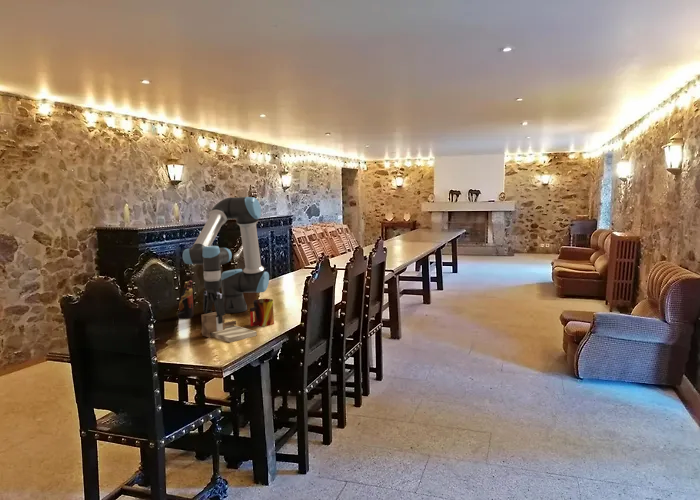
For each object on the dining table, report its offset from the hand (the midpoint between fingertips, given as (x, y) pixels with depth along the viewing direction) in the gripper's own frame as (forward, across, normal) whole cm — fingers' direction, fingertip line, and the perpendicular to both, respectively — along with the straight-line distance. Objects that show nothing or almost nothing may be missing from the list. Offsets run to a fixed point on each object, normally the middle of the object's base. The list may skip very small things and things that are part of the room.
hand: (214, 328), depth 226 cm
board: (+3, +4, +5) cm, 7 cm away
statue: (+3, -46, +9) cm, 47 cm away
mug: (+3, +2, +26) cm, 26 cm away
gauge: (+3, -1, +4) cm, 5 cm away
